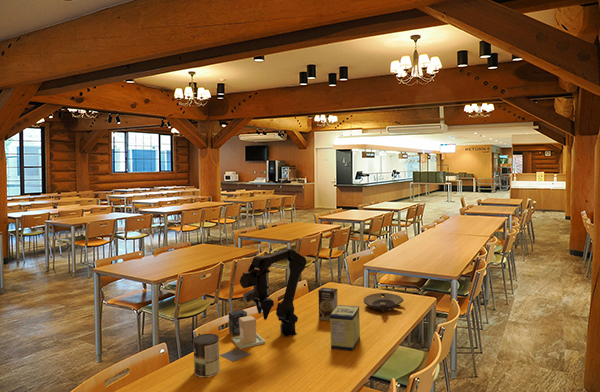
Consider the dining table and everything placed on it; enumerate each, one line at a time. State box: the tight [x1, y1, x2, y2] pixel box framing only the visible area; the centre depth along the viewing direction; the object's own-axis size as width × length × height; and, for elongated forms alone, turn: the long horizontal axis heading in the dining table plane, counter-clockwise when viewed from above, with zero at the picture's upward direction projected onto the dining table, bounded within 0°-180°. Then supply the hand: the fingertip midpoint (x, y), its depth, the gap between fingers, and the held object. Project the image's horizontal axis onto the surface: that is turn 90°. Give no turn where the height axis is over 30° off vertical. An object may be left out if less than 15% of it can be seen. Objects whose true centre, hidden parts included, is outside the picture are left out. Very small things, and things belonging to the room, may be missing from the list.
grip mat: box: [219, 347, 252, 363], centre depth 193 cm, size 10×10×1 cm
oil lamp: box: [363, 292, 404, 312], centre depth 250 cm, size 22×30×8 cm
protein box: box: [329, 304, 361, 351], centre depth 202 cm, size 10×16×16 cm
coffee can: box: [192, 333, 221, 378], centre depth 177 cm, size 10×10×14 cm
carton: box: [239, 315, 257, 345], centre depth 207 cm, size 6×6×11 cm
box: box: [228, 309, 248, 336], centre depth 220 cm, size 8×6×11 cm
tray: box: [231, 332, 266, 350], centre depth 207 cm, size 12×12×2 cm
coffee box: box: [318, 287, 338, 321], centre depth 236 cm, size 9×6×16 cm
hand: (262, 316), depth 204 cm, fingers open, 9 cm apart
